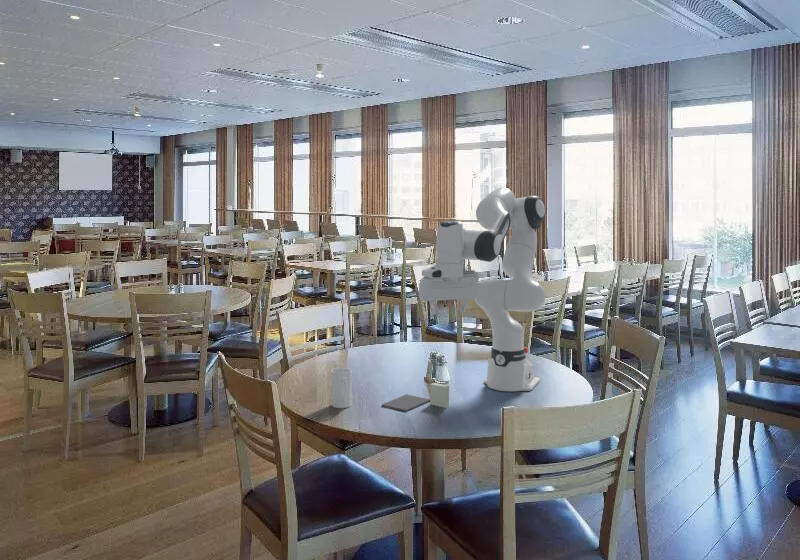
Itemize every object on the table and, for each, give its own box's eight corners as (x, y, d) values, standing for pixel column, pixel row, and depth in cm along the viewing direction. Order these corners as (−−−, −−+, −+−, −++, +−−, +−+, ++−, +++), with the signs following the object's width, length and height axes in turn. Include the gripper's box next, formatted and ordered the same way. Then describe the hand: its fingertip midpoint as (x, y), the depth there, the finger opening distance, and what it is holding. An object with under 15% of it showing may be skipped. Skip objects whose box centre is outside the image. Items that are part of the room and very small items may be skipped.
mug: (329, 403, 232) (329, 368, 230) (349, 401, 233) (349, 367, 232) (335, 412, 222) (335, 376, 220) (356, 410, 224) (355, 374, 222)
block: (433, 403, 232) (433, 382, 231) (448, 406, 228) (449, 385, 227) (430, 404, 230) (430, 384, 229) (445, 407, 227) (445, 387, 226)
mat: (406, 396, 240) (406, 394, 239) (430, 401, 234) (430, 399, 234) (381, 406, 228) (381, 404, 228) (406, 411, 222) (406, 410, 222)
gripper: (474, 269, 229) (473, 310, 231) (417, 271, 222) (416, 313, 224) (483, 271, 223) (482, 313, 225) (424, 273, 216) (424, 316, 218)
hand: (449, 313), depth 224 cm, fingers open, 8 cm apart
